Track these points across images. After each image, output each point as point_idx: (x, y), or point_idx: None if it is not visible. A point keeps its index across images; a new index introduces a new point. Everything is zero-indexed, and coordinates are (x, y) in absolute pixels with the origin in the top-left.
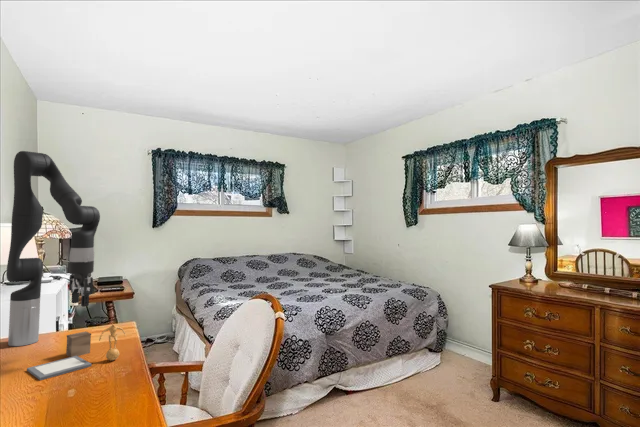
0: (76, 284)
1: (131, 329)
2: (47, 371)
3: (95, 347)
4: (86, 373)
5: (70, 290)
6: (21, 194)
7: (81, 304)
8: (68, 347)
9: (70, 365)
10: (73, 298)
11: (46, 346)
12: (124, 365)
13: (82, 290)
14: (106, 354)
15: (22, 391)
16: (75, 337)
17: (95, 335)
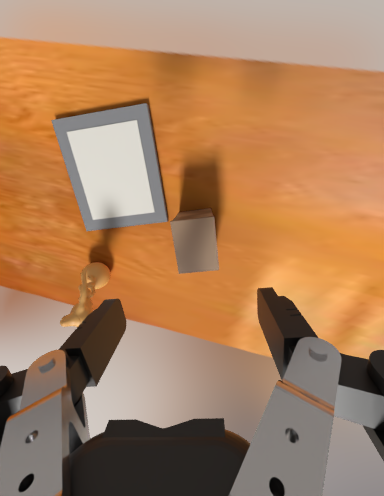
0: (189, 487)
1: None
2: (85, 141)
3: (219, 271)
4: (50, 210)
5: (374, 356)
6: None
7: (105, 304)
8: (198, 213)
9: (98, 193)
10: (268, 312)
11: (333, 184)
12: (58, 275)
13: (20, 406)
14: (93, 265)
15: (4, 76)
16: (172, 231)
17: (324, 298)
